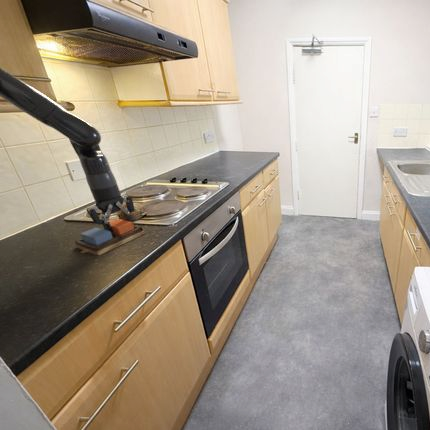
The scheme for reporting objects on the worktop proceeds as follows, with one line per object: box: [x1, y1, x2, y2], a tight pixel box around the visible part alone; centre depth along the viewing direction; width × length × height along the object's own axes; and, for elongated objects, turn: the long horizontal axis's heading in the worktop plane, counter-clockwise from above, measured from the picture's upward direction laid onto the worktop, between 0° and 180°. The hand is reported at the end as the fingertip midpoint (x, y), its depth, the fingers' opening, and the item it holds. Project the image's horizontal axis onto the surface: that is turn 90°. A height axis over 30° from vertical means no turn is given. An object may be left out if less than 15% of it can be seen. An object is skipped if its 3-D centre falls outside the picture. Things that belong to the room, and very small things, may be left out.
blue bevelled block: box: [80, 227, 113, 246], centre depth 91 cm, size 5×8×4 cm, turn 66°
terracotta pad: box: [108, 218, 134, 236], centre depth 98 cm, size 5×8×4 cm, turn 66°
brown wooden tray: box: [74, 224, 146, 256], centre depth 95 cm, size 16×13×3 cm
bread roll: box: [116, 202, 148, 221], centre depth 113 cm, size 10×10×8 cm
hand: (119, 227), depth 98 cm, fingers open, 6 cm apart
